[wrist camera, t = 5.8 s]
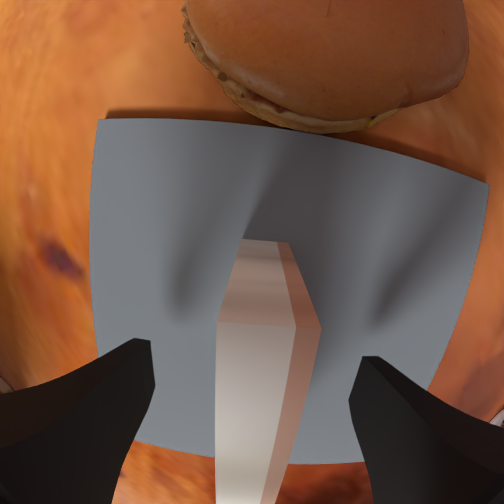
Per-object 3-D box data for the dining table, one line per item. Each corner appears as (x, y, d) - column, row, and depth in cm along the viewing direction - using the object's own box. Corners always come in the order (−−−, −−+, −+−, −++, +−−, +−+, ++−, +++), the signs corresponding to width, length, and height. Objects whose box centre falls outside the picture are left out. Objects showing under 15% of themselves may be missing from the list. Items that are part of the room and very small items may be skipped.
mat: (484, 184, 10) (489, 184, 9) (383, 454, 14) (384, 458, 13) (103, 120, 10) (98, 119, 9) (117, 429, 14) (115, 434, 13)
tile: (263, 427, 12) (263, 534, 7) (230, 425, 12) (217, 531, 7) (288, 242, 10) (321, 328, 4) (241, 239, 10) (216, 320, 4)
